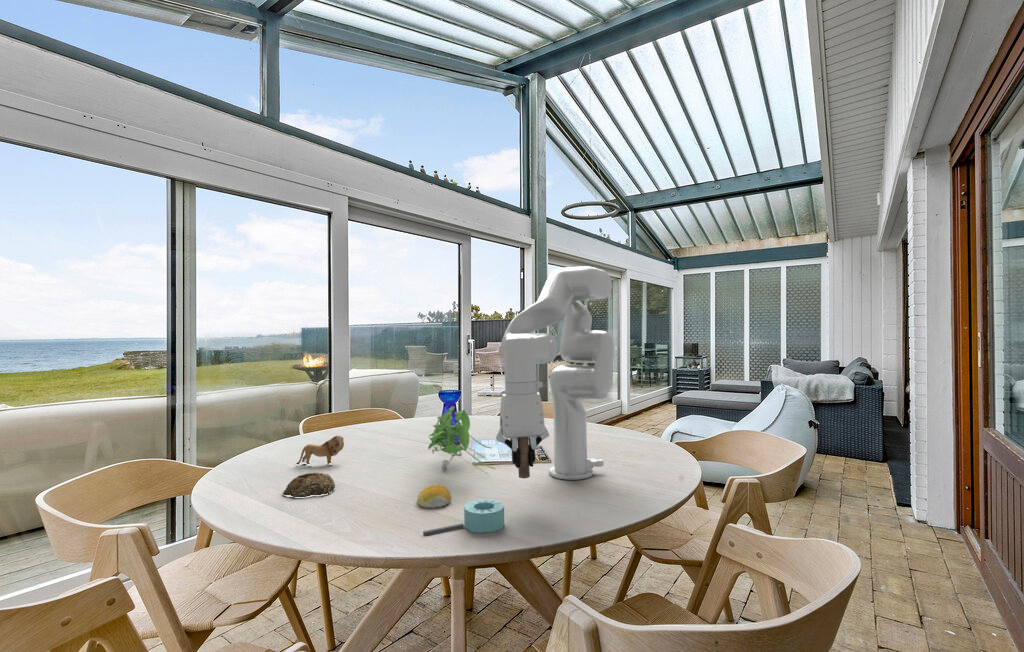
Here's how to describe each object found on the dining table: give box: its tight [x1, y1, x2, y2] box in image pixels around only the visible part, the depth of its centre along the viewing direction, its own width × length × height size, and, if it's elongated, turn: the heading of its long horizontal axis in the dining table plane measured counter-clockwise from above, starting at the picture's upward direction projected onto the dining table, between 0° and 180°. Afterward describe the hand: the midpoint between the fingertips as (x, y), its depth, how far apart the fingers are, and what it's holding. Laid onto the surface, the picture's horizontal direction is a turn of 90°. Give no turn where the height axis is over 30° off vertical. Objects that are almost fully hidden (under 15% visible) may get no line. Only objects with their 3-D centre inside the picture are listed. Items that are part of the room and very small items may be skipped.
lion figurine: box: [295, 435, 345, 465], centre depth 155 cm, size 15×5×9 cm, turn 105°
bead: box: [463, 498, 505, 534], centre depth 105 cm, size 8×8×4 cm
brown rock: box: [282, 472, 336, 498], centre depth 130 cm, size 13×12×5 cm
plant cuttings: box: [427, 405, 496, 476], centre depth 148 cm, size 35×17×22 cm
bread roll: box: [416, 484, 452, 509], centre depth 120 cm, size 8×9×4 cm
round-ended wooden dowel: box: [517, 437, 531, 479], centre depth 115 cm, size 3×3×12 cm
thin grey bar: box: [422, 523, 465, 536], centre depth 102 cm, size 9×1×1 cm, turn 117°
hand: (523, 465), depth 115 cm, fingers closed on round-ended wooden dowel, 2 cm apart
